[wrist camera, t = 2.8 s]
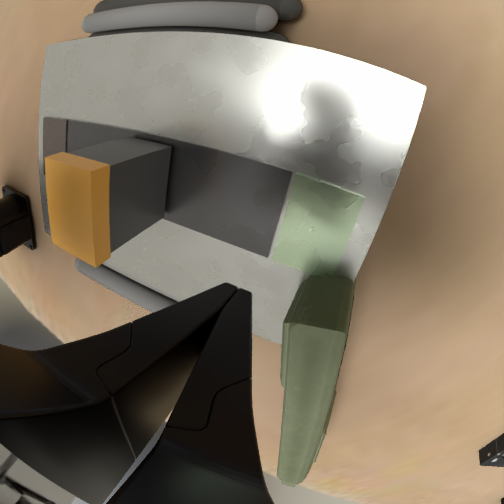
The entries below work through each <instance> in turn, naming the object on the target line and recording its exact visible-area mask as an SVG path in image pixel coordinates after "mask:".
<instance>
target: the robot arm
mask: <svg viewBox="0 0 504 504" xmlns="http://www.w3.org/2000/svg"><path fill="white" fill-rule="evenodd" d="M2 191H3V198H1V199H0V257H2V256H3V255H6V254H8V253H9V252H11V251H12V250H14V249H16V248H17V247H19V246H21V245H22V244H24V245H25V246H27V247H28V248H30V249H31V250H34V249H36V245H35V239H34V234H33V227H32V221H31V214H30V206H29V199H28V197H27V196H25V195H23V194H21V193H20V192H18V191H16V190H14V189H12V188H10V187H8V186H6V185H5V186H3V187H2ZM251 378H252V292H250V291H248V290H245V289H243V288H239V289H238V287H237V286H235V285H233V284H230V283H227V282H225V283H222V284H220V285H217V286H215V287H213V288H210V289H208V290H206V291H203V292H201V293H199V294H196V295H194V296H192V297H189V298H187V299H185V300H182V301H180V302H178V303H175V304H173V305H170V306H168V307H166V308H163V309H161V310H159V311H156V312H154V313H151V314H149V315H147V316H144V317H142V318H139V319H137V320H135V321H133V322H132V323H131V322H129V323H127V324H125V325H122V326H120V327H117V328H114V329H112V330H109V331H106V332H104V333H101V334H98V335H94V336H91V337H88V338H85V339H81V340H77V341H74V342H70V343H67V344H63V345H59V346H56V347H52V348H48V349H43V350H36V351H29V350H22V349H17V348H13V347H9V346H6V345H2V344H0V504H71V503H72V502H73V500H74V499H75V497H78V498H80V499H81V500H83V501H85V502H87V503H89V504H103V503H104V501H105V500H106V499H107V497H108V496H109V495H110V493H111V492H112V491H113V489H114V488H115V487H116V486H117V484H118V483H119V482H120V480H121V479H122V478H123V476H124V475H125V473H126V472H127V471H128V470H129V468H130V467H131V465H132V464H133V463H134V462H135V459H137V457H138V456H139V455H140V453H141V452H142V451H143V449H144V448H145V446H146V445H147V444H148V442H149V441H150V440H151V438H152V437H153V436H154V434H155V433H156V432H157V430H158V429H159V427H160V426H161V425H162V423H163V422H164V420H165V419H166V418H167V416H168V415H169V414H170V412H171V411H172V409H173V408H174V409H173V411H172V413H171V415H170V417H169V420H168V422H167V424H166V428H164V430H163V433H162V434H161V436H160V438H159V440H158V441H157V443H156V445H155V446H154V448H153V449H152V450H151V452H150V453H149V454H148V455H147V456H146V458H145V459H144V460H143V461H142V462H141V464H140V465H139V466H138V467H137V468H136V470H135V471H134V472H133V473H132V474H131V475H130V477H129V478H128V479H127V480H126V481H125V483H124V484H123V485H122V486H121V487H120V488H119V489H118V491H117V492H116V493H115V494H114V495H113V496H112V498H111V499H110V500H109V501H108V502H107V503H106V504H274V502H273V500H272V498H271V496H270V494H269V492H268V489H267V487H266V483H265V480H264V476H263V471H262V467H261V461H260V455H259V449H258V443H257V437H256V431H255V425H254V417H253V408H252V379H251Z"/></svg>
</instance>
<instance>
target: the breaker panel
mask: <svg viewBox="0 0 504 504" xmlns="http://www.w3.org/2000/svg"><path fill="white" fill-rule="evenodd" d="M426 88H427V87H426V86H424V85H422V84H420V83H417V82H415V81H413V80H410V79H408V78H406V77H403V76H401V75H398V74H396V73H393V72H390V71H388V70H385V69H382V68H379V67H377V66H374V65H371V64H368V63H365V62H362V61H359V60H356V59H352V58H349V57H346V56H342V55H339V54H335V53H331V52H328V51H324V50H320V49H316V48H311V47H307V46H302V45H298V44H293V43H288V42H282V41H277V40H271V39H264V38H258V37H250V36H242V35H233V34H222V33H208V32H179V31H166V32H138V33H124V34H113V35H104V36H96V37H89V38H83V39H77V40H71V41H66V42H61V43H56V44H51V45H47V46H46V52H45V58H44V65H43V73H42V82H41V93H40V107H39V137H38V146H39V176H40V191H41V202H42V211H43V220H44V227H45V232H46V233H48V234H50V235H51V229H50V222H49V213H48V203H47V191H46V174H45V157H48V156H51V155H54V154H57V153H60V152H65V153H69V152H72V151H75V150H79V149H82V148H86V147H89V146H93V145H96V144H100V143H104V142H107V141H111V140H115V139H119V138H123V137H132V138H137V139H142V140H146V141H151V142H155V143H160V144H164V145H168V146H172V149H171V157H170V165H169V173H168V182H167V192H166V202H165V214H164V218H163V219H161V220H159V221H158V222H156V223H155V224H153V225H152V226H150V227H149V228H147V229H146V230H144V231H143V232H141V233H140V234H138V235H137V236H135V237H134V238H132V239H131V240H129V241H128V242H126V243H125V244H124V245H122V246H121V247H119V248H118V249H116V250H115V251H113V252H112V253H111V257H110V258H109V259H108V260H106V261H105V262H104V263H102V264H103V265H105V266H107V267H109V268H111V269H113V270H115V271H117V272H119V273H121V274H123V275H125V276H126V277H128V278H130V279H132V280H134V281H136V282H138V283H140V284H142V285H144V286H147V287H149V288H151V289H153V290H155V291H157V292H159V293H161V294H163V295H165V296H167V297H169V298H172V299H174V300H176V301H178V302H180V301H182V300H185V299H187V298H189V297H192V296H194V295H196V294H199V293H201V292H203V291H206V290H208V289H210V288H213V287H215V286H217V285H220V284H222V283H225V282H227V283H230V284H233V285H235V286H237V287H238V289H239V288H243V289H245V290H248V291H250V292H252V334H254V335H257V336H259V337H262V338H264V339H267V340H270V341H272V342H275V343H277V344H280V345H282V327H283V321H284V319H285V317H286V314H287V312H288V310H289V308H290V305H291V303H292V301H293V299H294V296H295V294H296V292H297V290H298V287H299V286H300V285H301V283H302V282H305V281H307V278H308V277H309V276H311V275H313V276H324V277H332V278H333V276H334V275H337V276H345V277H348V278H349V279H350V280H352V282H354V280H355V278H356V276H357V273H358V271H359V269H360V267H361V265H362V263H363V261H364V259H365V256H366V254H367V252H368V250H369V248H370V245H371V243H372V241H373V238H374V236H375V234H376V232H377V229H378V227H379V225H380V222H381V220H382V217H383V215H384V213H385V210H386V208H387V205H388V203H389V200H390V198H391V195H392V192H393V190H394V187H395V185H396V182H397V179H398V176H399V174H400V171H401V168H402V165H403V163H404V160H405V157H406V154H407V151H408V148H409V145H410V142H411V139H412V136H413V133H414V130H415V126H416V123H417V120H418V117H419V113H420V110H421V106H422V103H423V99H424V96H425V92H426Z"/></svg>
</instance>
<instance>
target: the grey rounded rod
mask: <svg viewBox="0 0 504 504" xmlns="http://www.w3.org/2000/svg"><path fill="white" fill-rule="evenodd" d="M75 266H76V269H77V270H78V271H79V272H80V273H82V274H84V275H85V276H87V277H89V278H91V279H92V280H94V281H96V282H97V283H99V284H101V285H103V286H104V287H106V288H108V289H110V290H112V291H113V292H115V293H117V294H119V295H121V296H122V297H124V298H126V299H128V300H130V301H132V302H134V303H135V304H137V305H139V306H141V307H143V308H145V309H147V310H149V311H151V312H153V313H154V312H156V311H159V310H161V309H163V308H166V307H168V306H170V305H173V304H175V303H178V301H176V300H174V299H172V298H169V297H167V296H165V295H163V294H161V293H159V292H157V291H155V290H153V289H151V288H149V287H147V286H144V285H142V284H140V283H138V282H136V281H134V280H132V279H130V278H128V277H126V276H125V275H123V274H121V273H119V272H117V271H115V270H113V269H111V268H109V267H107V266H105V265H103V264H101V265H99V266H98V267H97V268H95V267H93V266H92V265H90V264H88V263H86V262H84V261H83V260H81V259H79V258H77V260H76V262H75Z"/></svg>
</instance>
